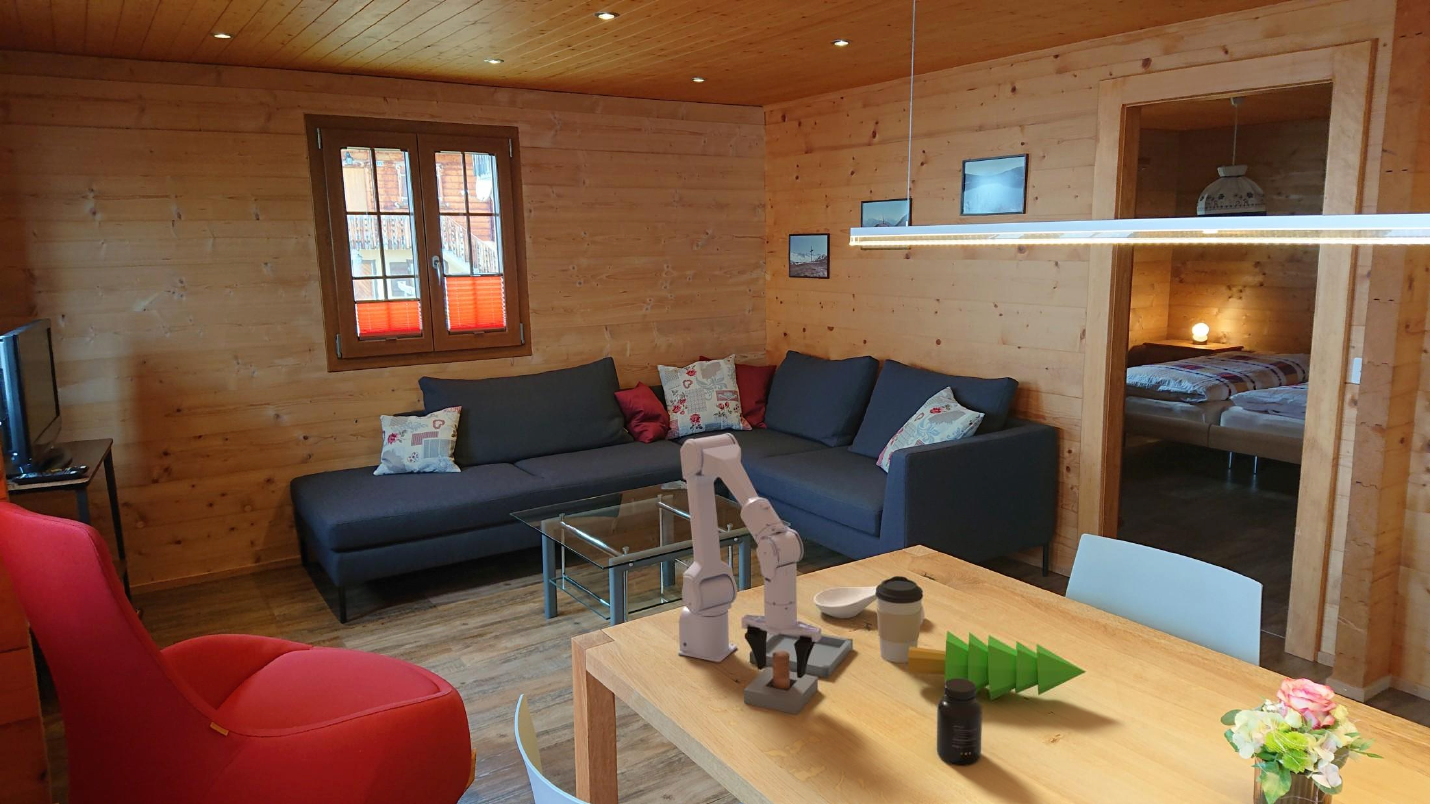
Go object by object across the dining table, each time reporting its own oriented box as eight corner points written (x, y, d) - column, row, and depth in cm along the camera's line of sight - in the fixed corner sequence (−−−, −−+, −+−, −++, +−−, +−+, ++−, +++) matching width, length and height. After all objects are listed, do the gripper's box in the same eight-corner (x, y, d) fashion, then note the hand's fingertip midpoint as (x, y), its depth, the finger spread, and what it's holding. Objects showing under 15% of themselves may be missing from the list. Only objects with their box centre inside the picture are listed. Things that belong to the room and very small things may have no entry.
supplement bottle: (930, 745, 153) (932, 675, 151) (971, 742, 154) (973, 673, 152) (944, 768, 147) (946, 696, 144) (987, 765, 147) (989, 693, 145)
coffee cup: (922, 667, 181) (923, 592, 178) (873, 663, 182) (874, 589, 180) (921, 646, 189) (923, 575, 187) (875, 643, 191) (876, 572, 189)
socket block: (744, 702, 168) (743, 689, 168) (767, 679, 177) (767, 666, 177) (796, 714, 164) (796, 701, 163) (817, 689, 173) (817, 676, 172)
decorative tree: (909, 615, 174) (1085, 625, 166) (913, 659, 180) (1083, 671, 171) (904, 662, 165) (1089, 675, 156) (908, 707, 171) (1087, 722, 162)
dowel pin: (770, 698, 170) (769, 656, 168) (777, 691, 172) (776, 649, 171) (785, 701, 168) (785, 659, 167) (792, 694, 171) (792, 652, 170)
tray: (749, 662, 184) (749, 652, 184) (778, 634, 196) (778, 625, 196) (827, 678, 177) (827, 668, 177) (852, 648, 189) (852, 639, 189)
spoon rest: (807, 620, 204) (807, 588, 203) (820, 600, 215) (820, 570, 214) (919, 633, 196) (920, 600, 195) (927, 612, 207) (927, 581, 206)
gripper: (733, 600, 167) (735, 673, 169) (810, 613, 160) (811, 689, 163) (750, 587, 173) (751, 657, 176) (825, 599, 167) (825, 672, 169)
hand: (781, 671), depth 170 cm, fingers open, 7 cm apart
